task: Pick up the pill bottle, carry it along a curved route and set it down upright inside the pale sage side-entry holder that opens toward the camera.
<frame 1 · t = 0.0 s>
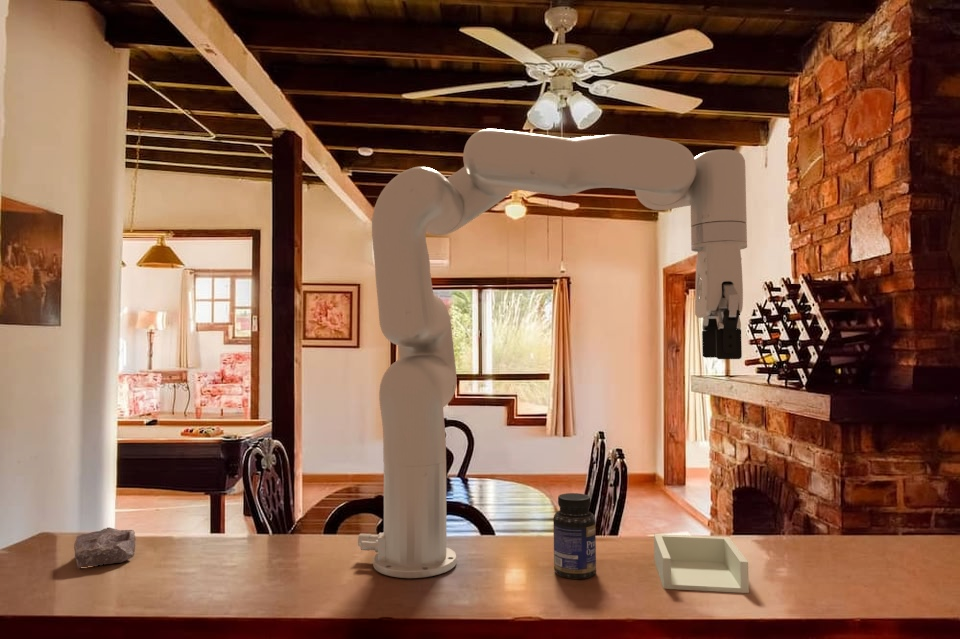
hand: (721, 358, 91), 31 cm above the counter, fingers open, 9 cm apart
pill bottle: (574, 574, 93), on the counter
holder: (698, 576, 91), on the counter
rock: (106, 560, 100), on the counter
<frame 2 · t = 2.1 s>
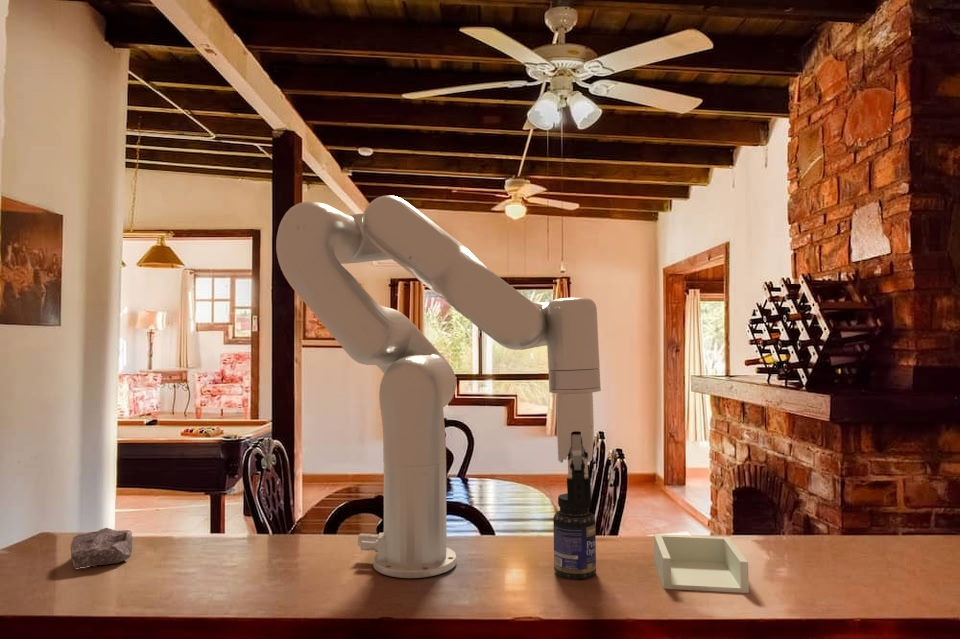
hand: (579, 498, 93), 11 cm above the counter, fingers open, 9 cm apart
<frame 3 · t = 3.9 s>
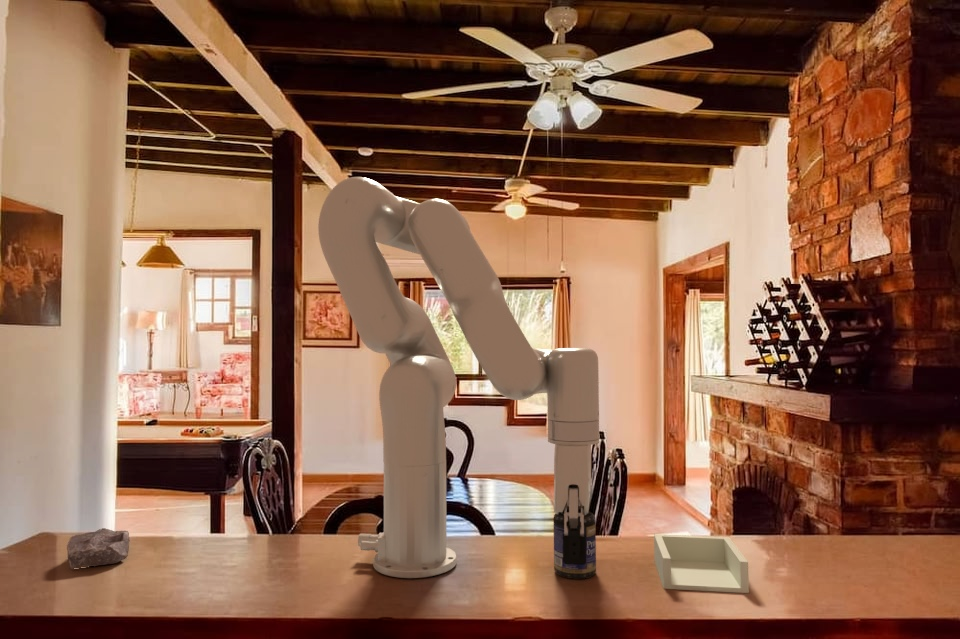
hand: (574, 554, 93), 3 cm above the counter, fingers closed on pill bottle, 6 cm apart
pill bottle: (574, 573, 93), on the counter, touching gripper
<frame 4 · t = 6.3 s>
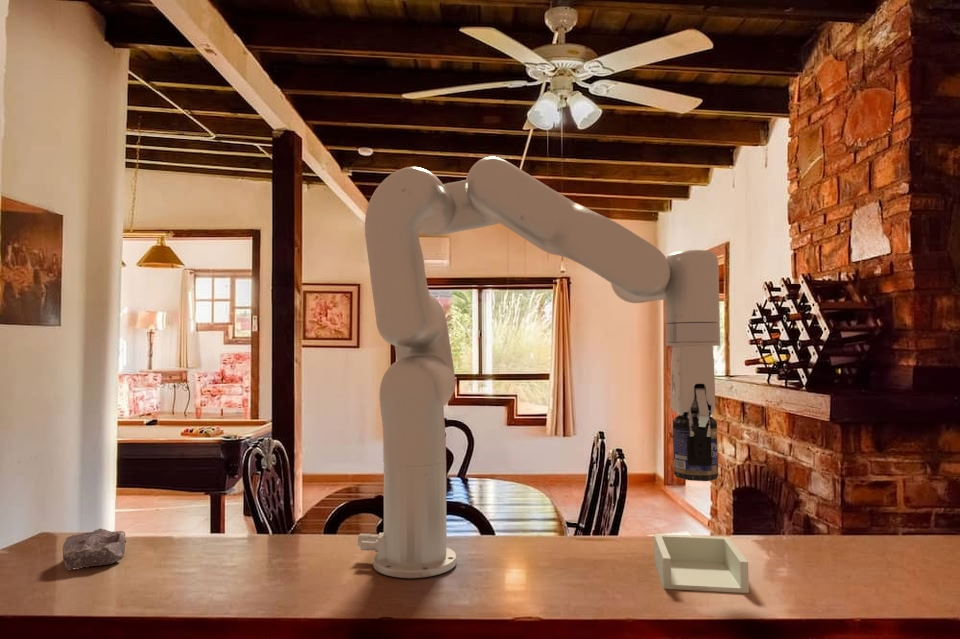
hand: (695, 459, 92), 17 cm above the counter, fingers closed on pill bottle, 6 cm apart
pill bottle: (695, 478, 92), point 14 cm above the counter, touching gripper
when the fingers open (5 cm above the counter, at t = 9.3 s): pill bottle drops 2 cm, resting on holder.
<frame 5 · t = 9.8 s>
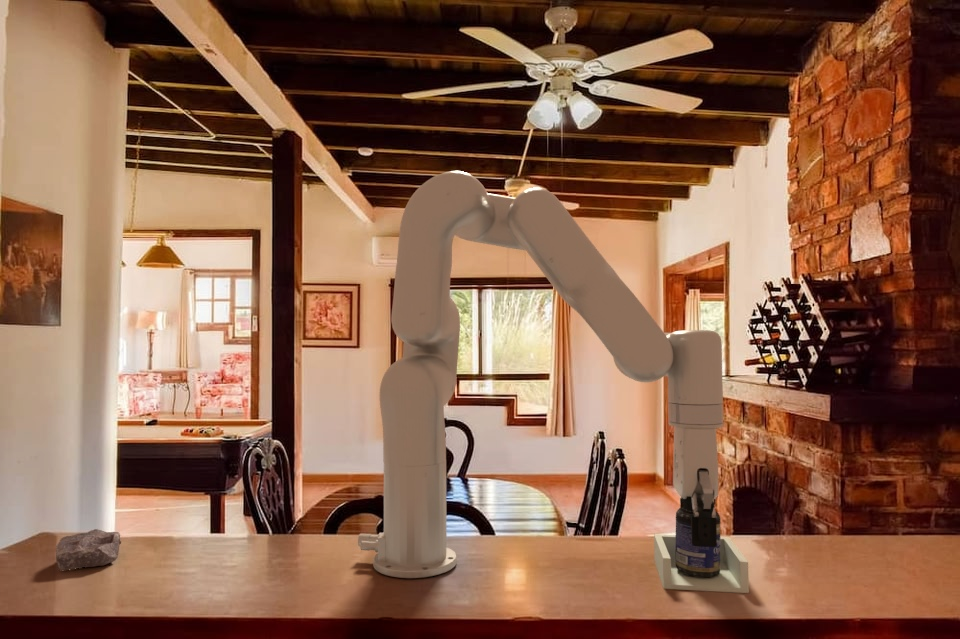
hand: (697, 535, 91), 6 cm above the counter, fingers open, 9 cm apart
pill bottle: (697, 572, 91), resting on holder
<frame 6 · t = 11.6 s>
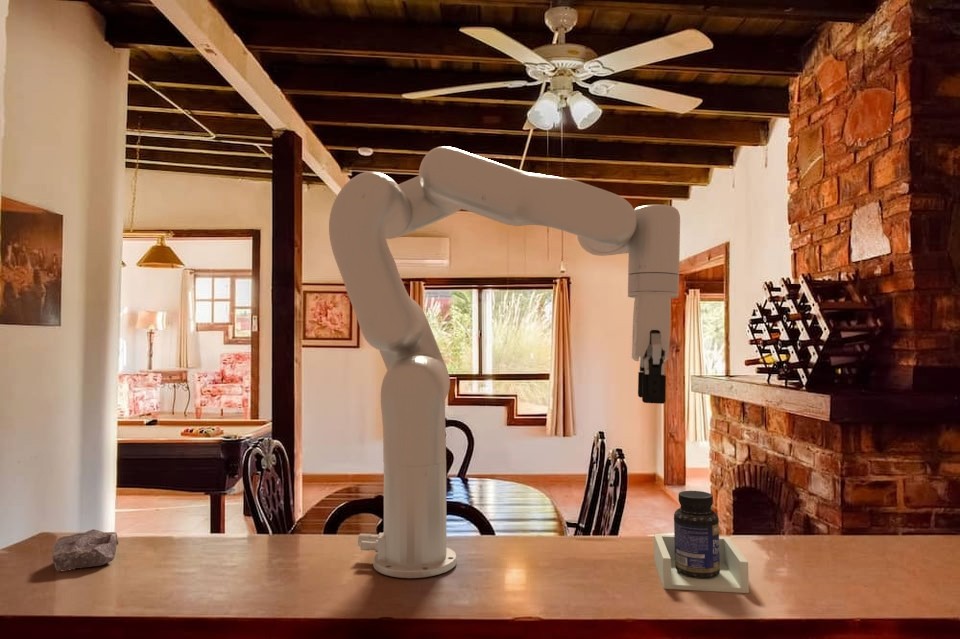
hand: (650, 400, 96), 25 cm above the counter, fingers open, 9 cm apart
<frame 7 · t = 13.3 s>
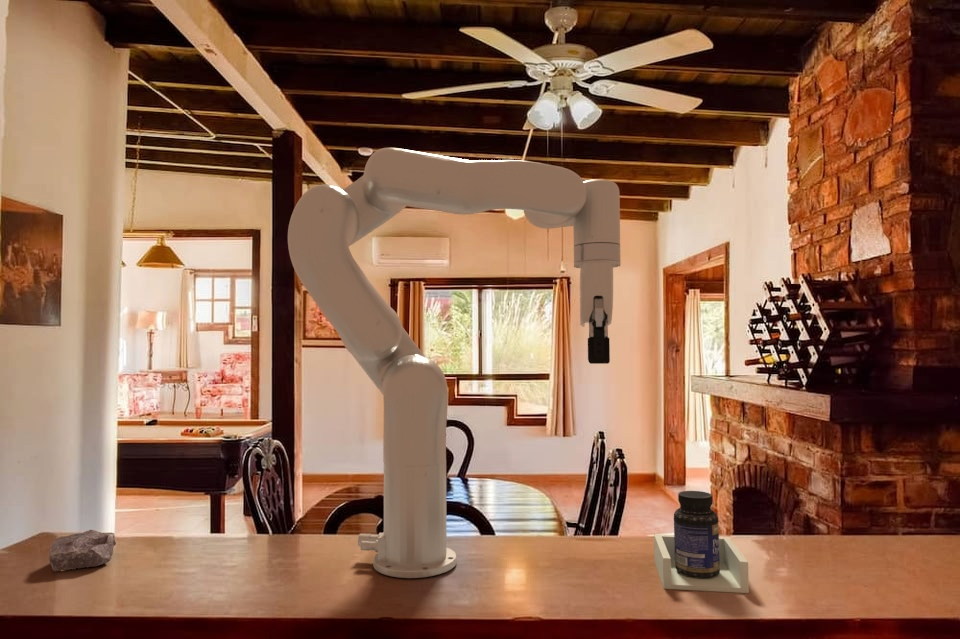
hand: (598, 362, 103), 30 cm above the counter, fingers open, 9 cm apart
at the end: pill bottle inside the target area on the holder (0.2 cm from its centre), point 0.4 cm above the holder's base; pill bottle tilted 0°; the gripper is holding nothing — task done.
